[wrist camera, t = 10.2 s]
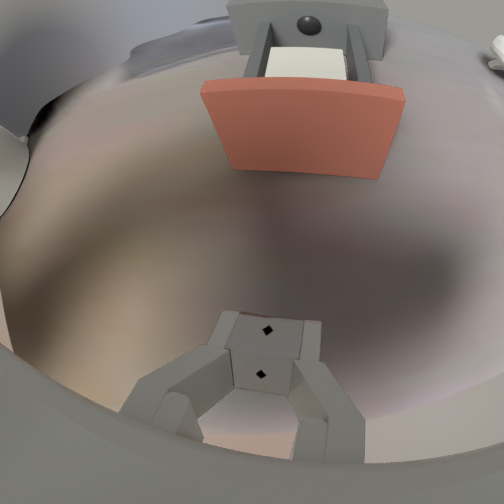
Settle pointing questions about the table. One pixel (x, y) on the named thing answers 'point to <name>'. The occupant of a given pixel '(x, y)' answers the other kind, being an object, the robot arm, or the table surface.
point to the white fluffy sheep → (497, 53)
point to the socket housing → (310, 30)
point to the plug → (305, 116)
